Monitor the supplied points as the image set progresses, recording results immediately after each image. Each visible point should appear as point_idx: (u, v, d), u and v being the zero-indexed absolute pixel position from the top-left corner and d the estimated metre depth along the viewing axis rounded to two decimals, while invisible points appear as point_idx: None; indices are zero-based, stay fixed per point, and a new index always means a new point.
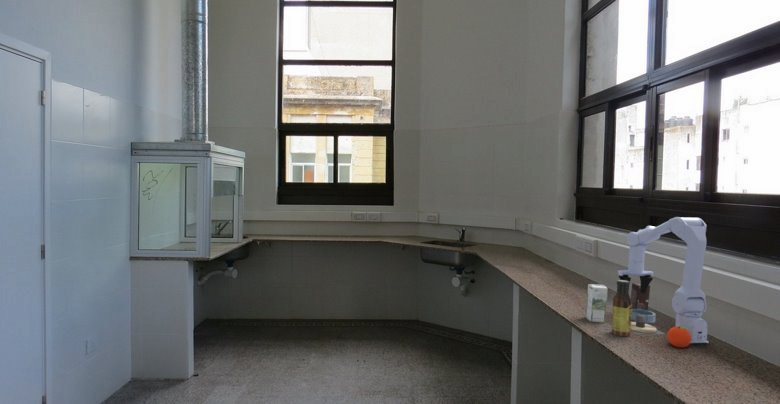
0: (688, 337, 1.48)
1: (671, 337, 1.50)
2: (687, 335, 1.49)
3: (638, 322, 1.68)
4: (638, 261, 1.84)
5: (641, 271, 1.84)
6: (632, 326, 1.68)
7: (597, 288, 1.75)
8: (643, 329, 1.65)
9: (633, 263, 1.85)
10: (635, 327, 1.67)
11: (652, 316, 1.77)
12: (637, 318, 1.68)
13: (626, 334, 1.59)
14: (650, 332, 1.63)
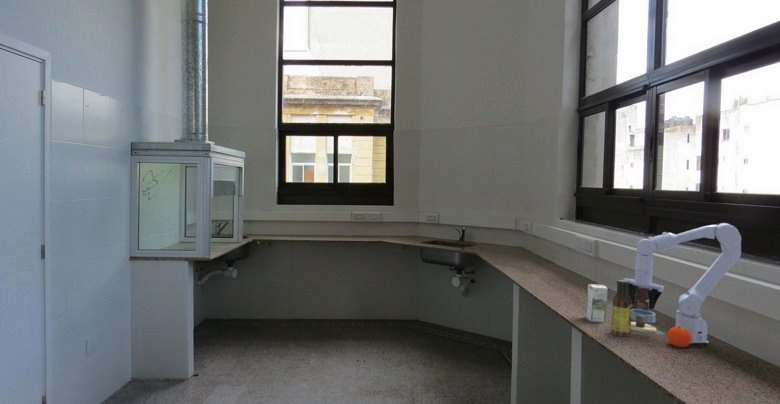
0: (688, 337, 1.48)
1: (671, 337, 1.50)
2: (687, 335, 1.49)
3: (638, 322, 1.68)
4: (637, 270, 1.67)
5: (640, 282, 1.66)
6: (632, 326, 1.68)
7: (597, 288, 1.75)
8: (643, 329, 1.65)
9: (635, 272, 1.69)
10: (635, 327, 1.67)
11: (652, 316, 1.77)
12: (637, 318, 1.68)
13: (626, 334, 1.59)
14: (650, 332, 1.63)
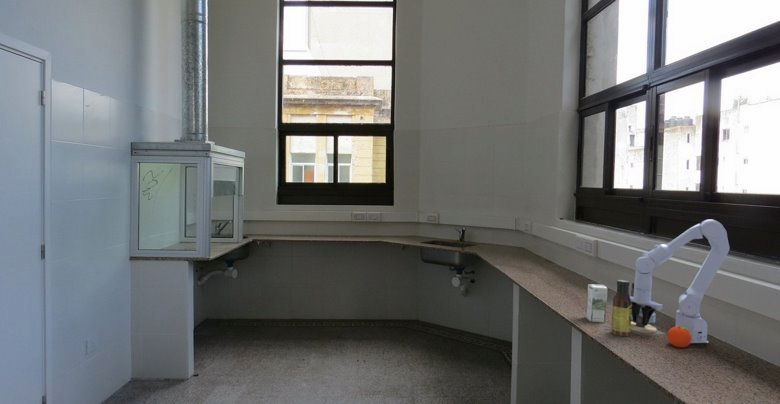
0: (688, 337, 1.48)
1: (671, 337, 1.50)
2: (687, 335, 1.49)
3: (638, 322, 1.68)
4: (636, 288, 1.68)
5: (639, 300, 1.66)
6: (632, 326, 1.68)
7: (597, 288, 1.75)
8: (643, 329, 1.65)
9: (634, 289, 1.69)
10: (635, 327, 1.67)
11: (652, 316, 1.77)
12: (637, 318, 1.68)
13: (626, 334, 1.59)
14: (650, 332, 1.63)
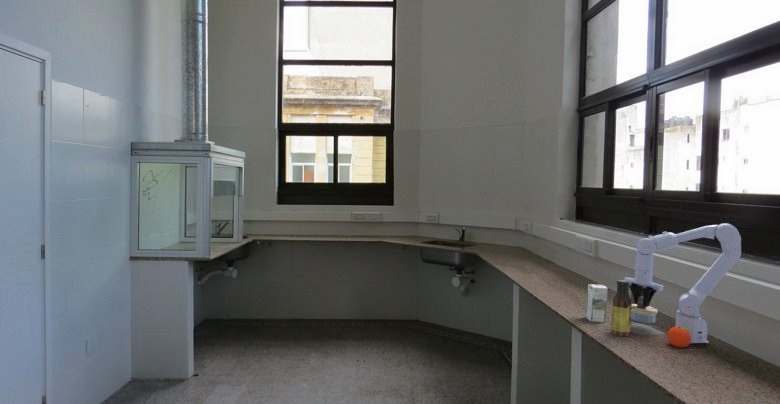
0: (688, 337, 1.48)
1: (671, 337, 1.50)
2: (687, 335, 1.49)
3: (639, 303, 1.68)
4: (637, 269, 1.68)
5: (640, 281, 1.67)
6: (633, 307, 1.68)
7: (597, 288, 1.75)
8: (644, 310, 1.65)
9: (635, 271, 1.70)
10: (636, 308, 1.67)
11: (652, 316, 1.77)
12: (638, 299, 1.69)
13: (626, 334, 1.59)
14: (651, 313, 1.64)
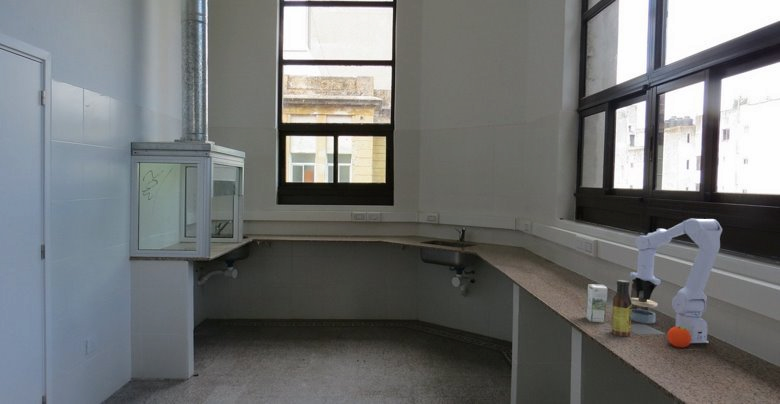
0: (688, 337, 1.48)
1: (671, 337, 1.50)
2: (687, 335, 1.49)
3: (640, 297, 1.80)
4: (638, 264, 1.80)
5: (640, 275, 1.79)
6: (634, 300, 1.81)
7: (597, 288, 1.75)
8: (643, 303, 1.77)
9: None
10: (636, 301, 1.79)
11: (652, 316, 1.77)
12: (639, 293, 1.80)
13: (626, 334, 1.59)
14: (649, 306, 1.75)
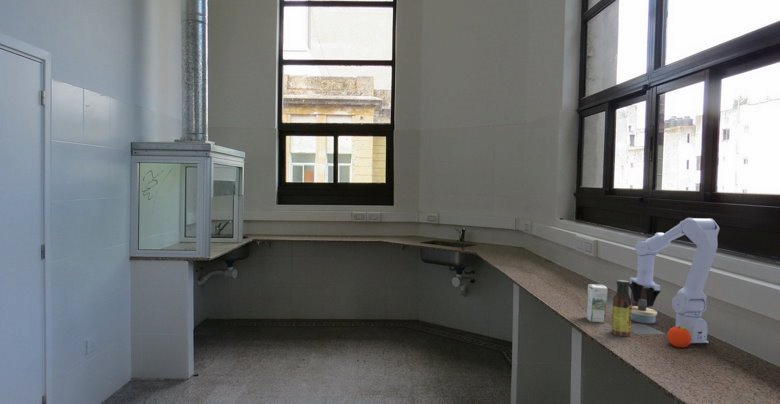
0: (688, 337, 1.48)
1: (671, 337, 1.50)
2: (687, 335, 1.49)
3: (639, 306, 1.80)
4: (637, 269, 1.81)
5: (639, 280, 1.79)
6: (633, 309, 1.81)
7: (597, 288, 1.75)
8: (642, 312, 1.77)
9: None
10: (635, 310, 1.80)
11: (652, 316, 1.77)
12: (639, 302, 1.81)
13: (626, 334, 1.59)
14: (648, 315, 1.75)
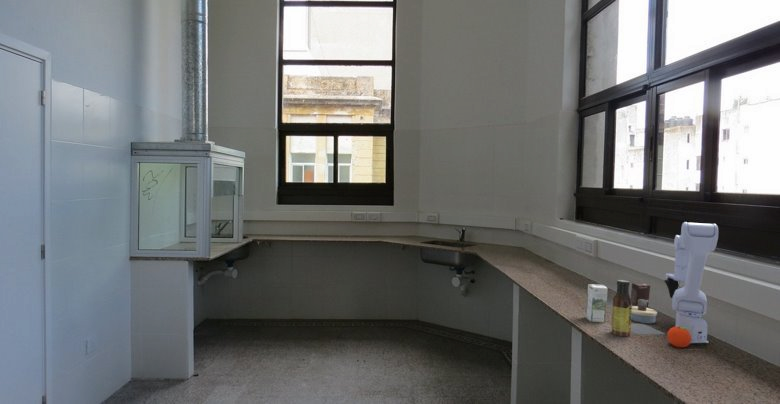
0: (688, 337, 1.48)
1: (671, 337, 1.50)
2: (687, 335, 1.49)
3: (639, 306, 1.80)
4: (675, 265, 1.75)
5: (677, 276, 1.73)
6: (633, 309, 1.81)
7: (597, 288, 1.75)
8: (642, 312, 1.77)
9: None
10: (635, 310, 1.80)
11: (652, 316, 1.77)
12: (639, 302, 1.81)
13: (626, 334, 1.59)
14: (648, 315, 1.75)
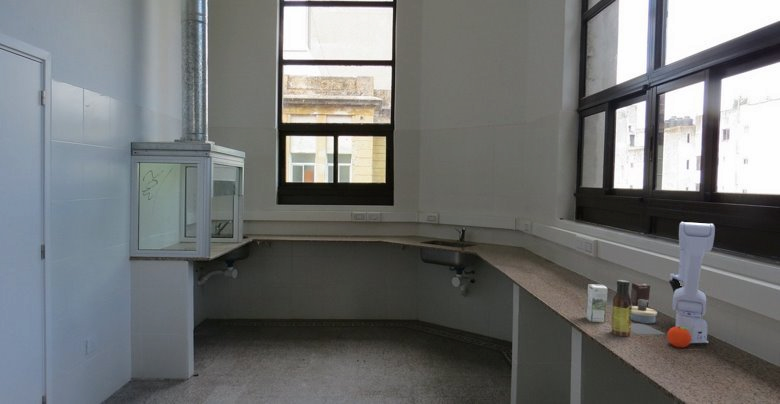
0: (688, 337, 1.48)
1: (671, 337, 1.50)
2: (687, 335, 1.49)
3: (639, 306, 1.80)
4: (679, 265, 1.74)
5: (682, 277, 1.73)
6: (633, 309, 1.81)
7: (597, 288, 1.75)
8: (642, 312, 1.77)
9: None
10: (635, 310, 1.80)
11: (652, 316, 1.77)
12: (639, 302, 1.81)
13: (626, 334, 1.59)
14: (648, 315, 1.75)
